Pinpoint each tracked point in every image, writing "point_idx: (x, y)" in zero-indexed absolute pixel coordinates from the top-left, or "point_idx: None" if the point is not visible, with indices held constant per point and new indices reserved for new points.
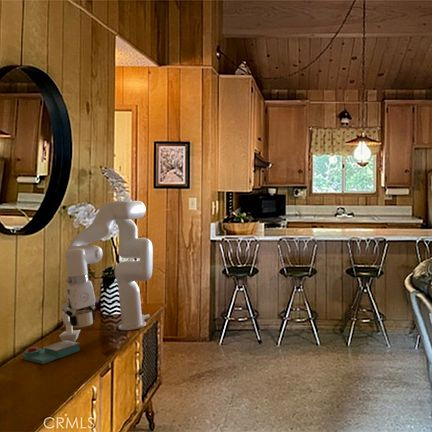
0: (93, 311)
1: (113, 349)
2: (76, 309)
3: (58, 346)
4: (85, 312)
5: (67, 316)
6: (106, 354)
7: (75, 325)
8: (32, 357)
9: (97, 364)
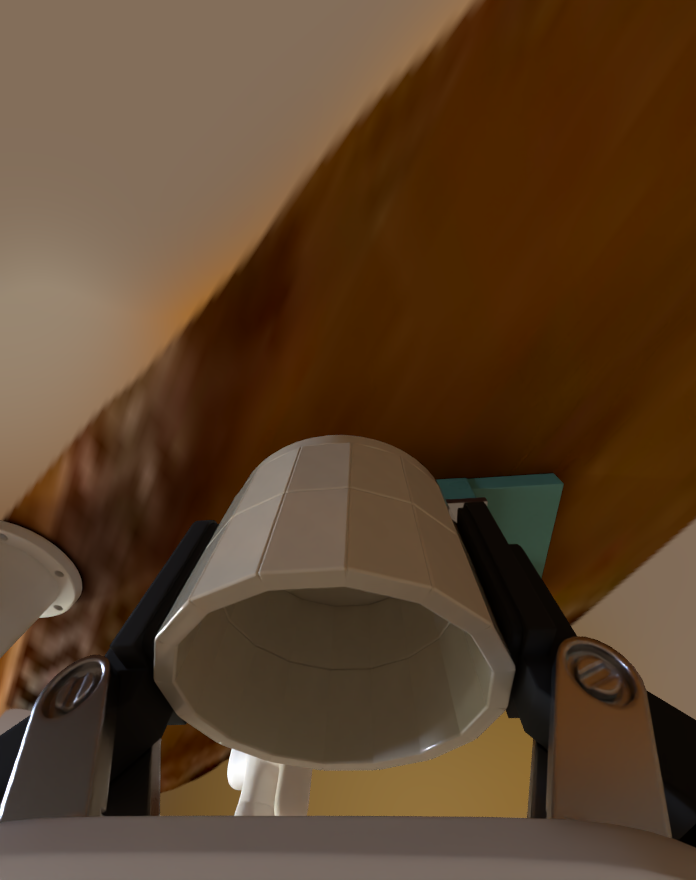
0: (134, 625)
1: (209, 327)
2: (677, 849)
3: None
4: (242, 692)
5: (287, 766)
6: (282, 273)
7: (483, 506)
8: (539, 562)
9: (439, 93)
